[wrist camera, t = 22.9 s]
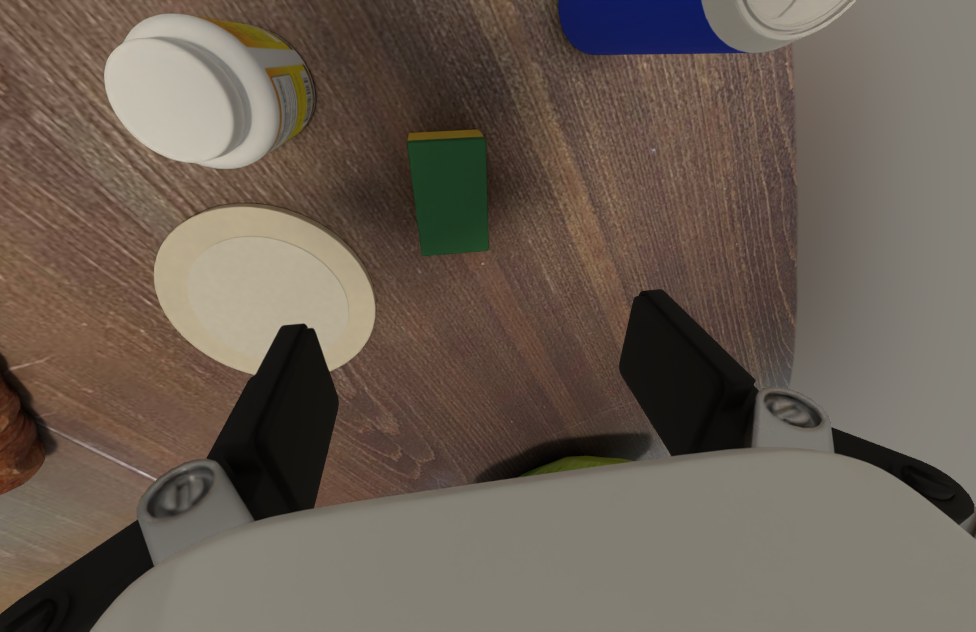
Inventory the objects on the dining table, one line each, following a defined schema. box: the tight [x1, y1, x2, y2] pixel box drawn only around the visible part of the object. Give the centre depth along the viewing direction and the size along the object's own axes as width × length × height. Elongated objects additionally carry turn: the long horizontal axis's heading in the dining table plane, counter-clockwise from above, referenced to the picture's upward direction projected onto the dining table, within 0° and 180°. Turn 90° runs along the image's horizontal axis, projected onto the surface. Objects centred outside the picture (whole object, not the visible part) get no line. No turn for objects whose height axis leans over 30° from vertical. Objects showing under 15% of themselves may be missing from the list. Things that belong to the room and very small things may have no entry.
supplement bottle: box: [104, 14, 315, 169], centre depth 18 cm, size 6×6×10 cm
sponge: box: [407, 129, 489, 256], centre depth 25 cm, size 7×4×4 cm, turn 1°
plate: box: [154, 203, 376, 375], centre depth 29 cm, size 15×15×1 cm
